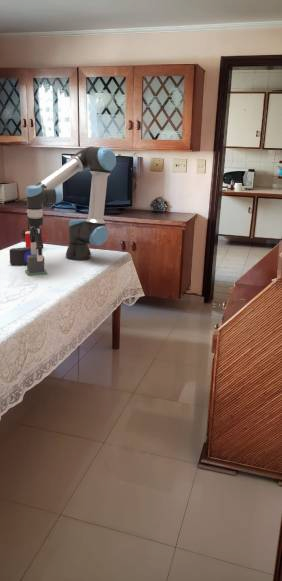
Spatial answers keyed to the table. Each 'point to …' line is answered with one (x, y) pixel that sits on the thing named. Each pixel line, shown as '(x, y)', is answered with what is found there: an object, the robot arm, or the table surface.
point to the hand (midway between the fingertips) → (36, 257)
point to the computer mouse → (19, 255)
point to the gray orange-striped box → (34, 264)
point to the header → (36, 273)
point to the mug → (27, 237)
